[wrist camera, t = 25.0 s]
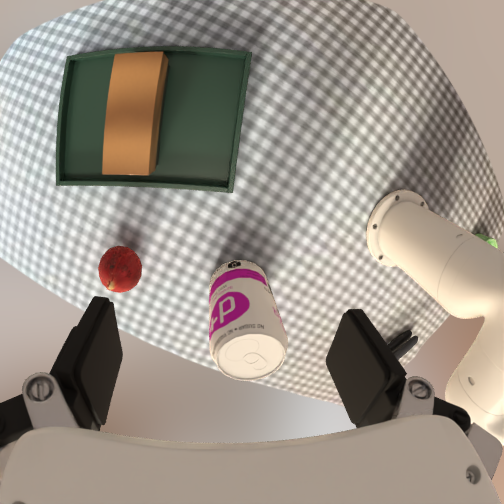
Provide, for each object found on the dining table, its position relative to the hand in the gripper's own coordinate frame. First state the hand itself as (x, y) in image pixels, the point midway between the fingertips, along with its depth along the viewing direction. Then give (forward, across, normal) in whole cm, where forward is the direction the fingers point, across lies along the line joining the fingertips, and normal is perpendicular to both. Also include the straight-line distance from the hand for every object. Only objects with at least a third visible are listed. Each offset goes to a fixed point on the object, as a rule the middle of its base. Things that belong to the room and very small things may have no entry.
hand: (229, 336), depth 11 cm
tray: (+26, +10, -9) cm, 30 cm away
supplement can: (+26, -4, +13) cm, 30 cm away
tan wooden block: (+26, +10, -9) cm, 29 cm away
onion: (+26, +12, +10) cm, 31 cm away
